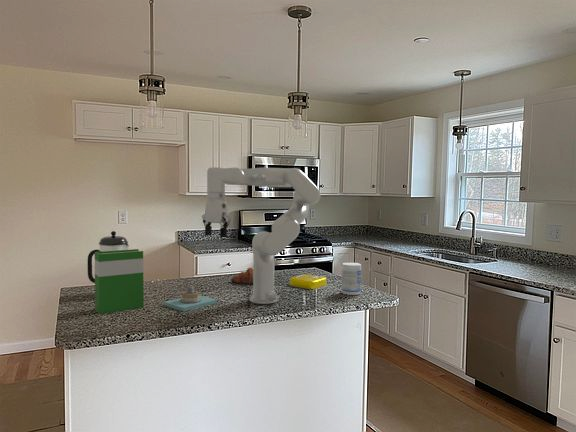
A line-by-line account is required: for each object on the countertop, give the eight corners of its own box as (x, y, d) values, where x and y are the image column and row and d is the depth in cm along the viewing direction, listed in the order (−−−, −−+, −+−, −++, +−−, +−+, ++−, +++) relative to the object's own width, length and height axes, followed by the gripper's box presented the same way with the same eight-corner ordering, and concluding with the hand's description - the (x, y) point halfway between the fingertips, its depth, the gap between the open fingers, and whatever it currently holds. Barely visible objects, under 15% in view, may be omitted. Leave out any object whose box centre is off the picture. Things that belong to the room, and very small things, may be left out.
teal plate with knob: (216, 303, 197) (216, 285, 196) (183, 311, 183) (183, 292, 182) (196, 297, 205) (196, 280, 205) (163, 305, 191) (163, 287, 191)
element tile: (304, 281, 246) (304, 272, 246) (327, 285, 237) (327, 276, 237) (288, 285, 235) (288, 277, 234) (311, 290, 226) (312, 281, 225)
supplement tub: (361, 296, 213) (362, 265, 212) (341, 295, 214) (342, 265, 213) (360, 291, 223) (360, 262, 222) (341, 290, 224) (341, 261, 223)
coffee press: (124, 288, 221) (124, 228, 219) (134, 295, 208) (134, 231, 206) (87, 293, 211) (86, 230, 209) (95, 300, 198) (94, 233, 196)
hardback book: (138, 303, 194) (137, 249, 192) (143, 307, 188) (143, 251, 186) (95, 309, 184) (94, 252, 182) (99, 313, 178) (98, 254, 176)
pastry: (253, 278, 252) (253, 264, 251) (272, 282, 241) (272, 268, 241) (230, 282, 240) (230, 267, 239) (249, 287, 229) (249, 272, 229)
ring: (201, 299, 194) (201, 292, 194) (189, 302, 189) (189, 295, 189) (191, 296, 199) (191, 290, 199) (178, 299, 193) (178, 292, 193)
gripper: (236, 196, 187) (236, 237, 188) (209, 195, 198) (209, 233, 199) (223, 197, 181) (222, 238, 182) (196, 196, 192) (195, 235, 193)
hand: (215, 236), depth 191 cm, fingers open, 9 cm apart
